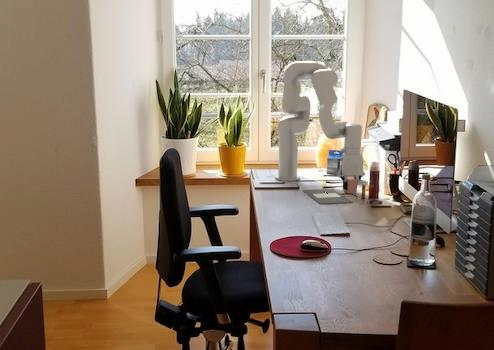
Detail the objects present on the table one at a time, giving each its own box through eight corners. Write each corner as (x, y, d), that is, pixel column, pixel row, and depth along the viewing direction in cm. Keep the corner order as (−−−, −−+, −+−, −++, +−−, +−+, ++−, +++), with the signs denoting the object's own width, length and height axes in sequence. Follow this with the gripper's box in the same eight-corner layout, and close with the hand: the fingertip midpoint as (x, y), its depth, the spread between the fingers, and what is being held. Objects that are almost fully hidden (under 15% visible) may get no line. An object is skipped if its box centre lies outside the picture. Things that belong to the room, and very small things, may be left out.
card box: (342, 189, 271) (343, 177, 269) (350, 189, 272) (351, 176, 270) (348, 193, 264) (349, 180, 263) (356, 193, 265) (357, 180, 264)
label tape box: (326, 173, 307) (327, 150, 304) (327, 171, 310) (328, 149, 308) (342, 174, 304) (344, 151, 301) (343, 173, 308) (345, 150, 305)
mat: (302, 191, 269) (302, 189, 268) (332, 189, 272) (332, 188, 272) (319, 204, 246) (319, 203, 246) (352, 202, 249) (352, 201, 249)
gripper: (338, 152, 258) (335, 192, 262) (372, 152, 262) (369, 190, 266) (332, 149, 265) (330, 188, 269) (365, 149, 269) (363, 186, 273)
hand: (349, 189), depth 267 cm, fingers closed on card box, 4 cm apart
